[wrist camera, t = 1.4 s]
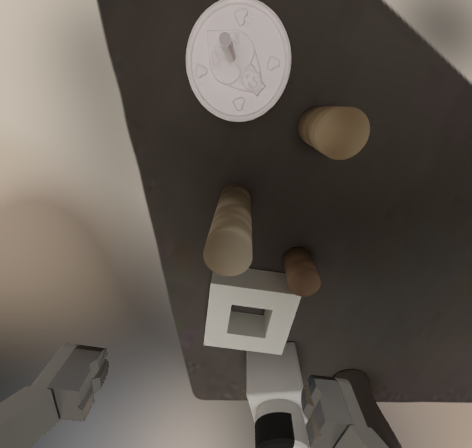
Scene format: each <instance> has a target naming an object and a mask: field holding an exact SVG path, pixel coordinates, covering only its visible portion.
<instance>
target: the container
mask: <svg viewBox="0 0 472 448" xmlns="http://www.w3.org/2000/svg"><path fill="white" fill-rule="evenodd" d="M303 387H304V386H303V381H302V376H301V371H300V366H299V361H298V356H297V351H296V346H295V343H294V342H286V344H285V347H284V350H283V353H282V355H276V354H269V353H261V352H254V351H247V398H248V402H249V405H250V409H251V412H252V416H253V419H254V423H255V444H256V445H255V447H256V448H309V444H308V438H307V433H306V427H305V423H307V421H308V419H307V418H306V416H305V415H304V414H303V411H302V405H301V393H302V390H303Z"/></svg>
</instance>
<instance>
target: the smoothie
mask: <svg viewBox="0 0 472 448" xmlns="http://www.w3.org/2000/svg"><path fill="white" fill-rule="evenodd" d="M186 69H187V75H188V79H189V82H190V85H191V88H192V90H193V92H194V94H195V96H196V97H197V99H198V100H199V101H200V103H201V104H202V105H203V106H204V107H205V108H206V109H207V110H208V111H209V112H211V113H212V114H214V115H215V116H217V117H219V118H222V119H224V120H227V121H234V122H244V121H249V120H253V119H255V118H257V117H259V116H262V115H264V114H265V113H266V112H267V111H268V110H269V109H271V108H272V107H273V106H274V105H275V103H276V102H277V101H278V99H279V98H280V96H281V95H282V93H283V91H284V89H285V87H286V84H287V81H288V78H289V74H290V69H291V48H290V43H289V39H288V35H287V32H286V30H285V28H284V26H283V24H282V22H281V20H280V19H279V18H278V16H277V15H276V14H275V13H274V12H273V11H272V10H271V9H270V8H269V7H268V6H267V5H265V4H264V3H262V2H260V1H258V0H220V1H218V2H216V3H214V4H213V5H211V6H210V7H209V8H208V9H207V10H205V11H204V13H203V14H202V15H201V16H200V17H199V19H198V20H197V22H196V23H195V25H194V27H193V29H192V31H191V34H190V37H189V40H188V44H187V50H186Z"/></svg>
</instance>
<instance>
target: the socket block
mask: <svg viewBox="0 0 472 448" xmlns="http://www.w3.org/2000/svg"><path fill="white" fill-rule="evenodd" d="M300 299H301V296H297V295H295V294H293V293H292V292H291V291H290V290H289V287H288V283H287V278H286V274H285V273H279V272H272V271H265V270H257V269H250V268H248V269H247V270H246V271H245V272H243V273H241V274H239V275H236V276H222V275H219V274H216V273H214V272H213V275H212V279H211V285H210V294H209V302H208V311H207V320H206V329H205V338H204V345H208V346H215V347H223V348H231V349H238V350H246V351H254V352H261V353H269V354H276V355H282V353H283V350H284V347H285V344H286V341H287V338H288V335H289V332H290V329H291V326H292V323H293V320H294V317H295V314H296V311H297V308H298V305H299V302H300ZM232 305H238V306H246V307H253V308H261V309H265V311H264V315H257V314H250V313H242V312H235V311H231V306H232Z"/></svg>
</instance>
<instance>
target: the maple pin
mask: <svg viewBox="0 0 472 448" xmlns="http://www.w3.org/2000/svg"><path fill="white" fill-rule="evenodd" d="M203 258H204V262H205V264H206V265H207V267H208V268H209V269H210V270H211V271H213V272H214V273H216V274H219V275H222V276H236V275H239V274H241V273H243V272H245V271H246V270H247V269H248V268H249V266H250V265H251V263H252V258H253V254H252V222H251V196H250V193H249V191H248V190H247V189H246V188H245V187H244V186H242V185H239V184H231V185H229V186H227V187H225V188H224V189H223V190H222V192H221V195H220V198H219V201H218V205H217V208H216V211H215V214H214V218H213V221H212V224H211V228H210V231H209V234H208V238H207V241H206V244H205V248H204V251H203Z"/></svg>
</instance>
